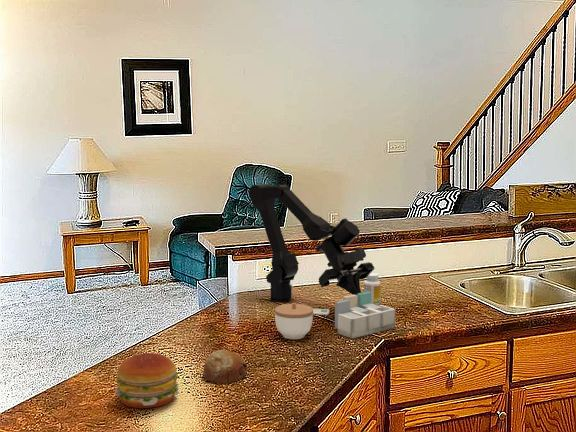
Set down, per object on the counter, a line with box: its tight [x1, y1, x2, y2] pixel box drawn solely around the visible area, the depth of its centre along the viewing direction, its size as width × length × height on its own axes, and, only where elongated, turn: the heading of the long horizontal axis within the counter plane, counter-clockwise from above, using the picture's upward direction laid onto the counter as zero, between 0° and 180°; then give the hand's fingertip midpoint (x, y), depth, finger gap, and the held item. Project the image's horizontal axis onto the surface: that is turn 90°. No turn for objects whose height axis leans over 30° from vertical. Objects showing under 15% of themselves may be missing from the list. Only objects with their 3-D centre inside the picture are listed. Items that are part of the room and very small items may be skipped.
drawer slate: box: [334, 299, 360, 330], centre depth 199 cm, size 7×4×8 cm, turn 38°
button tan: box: [342, 294, 369, 315], centre depth 205 cm, size 7×4×8 cm, turn 38°
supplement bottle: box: [363, 272, 381, 306], centre depth 230 cm, size 5×5×10 cm
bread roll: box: [202, 349, 248, 384], centre depth 167 cm, size 10×10×8 cm
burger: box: [114, 352, 179, 409], centre depth 152 cm, size 14×14×10 cm
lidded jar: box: [274, 302, 314, 340], centre depth 196 cm, size 11×11×9 cm
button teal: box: [357, 291, 383, 311], centre depth 208 cm, size 7×4×8 cm, turn 38°
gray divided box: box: [337, 304, 397, 339], centre depth 202 cm, size 6×17×6 cm, turn 127°
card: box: [313, 308, 330, 316], centre depth 220 cm, size 8×5×1 cm, turn 83°
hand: (359, 297), depth 212 cm, fingers closed
